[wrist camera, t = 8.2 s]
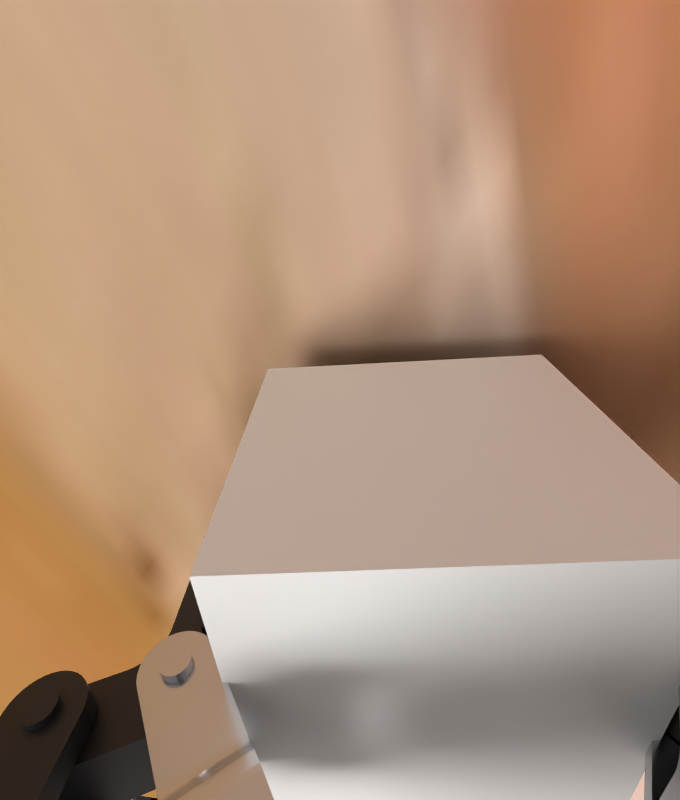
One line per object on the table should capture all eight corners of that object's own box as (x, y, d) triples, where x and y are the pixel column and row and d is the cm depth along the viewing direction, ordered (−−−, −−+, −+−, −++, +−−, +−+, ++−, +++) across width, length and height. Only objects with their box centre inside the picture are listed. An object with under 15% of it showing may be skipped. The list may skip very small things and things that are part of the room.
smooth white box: (267, 368, 11) (189, 577, 6) (541, 354, 11) (754, 555, 5) (296, 561, 15) (265, 821, 9) (509, 554, 14) (621, 815, 9)
